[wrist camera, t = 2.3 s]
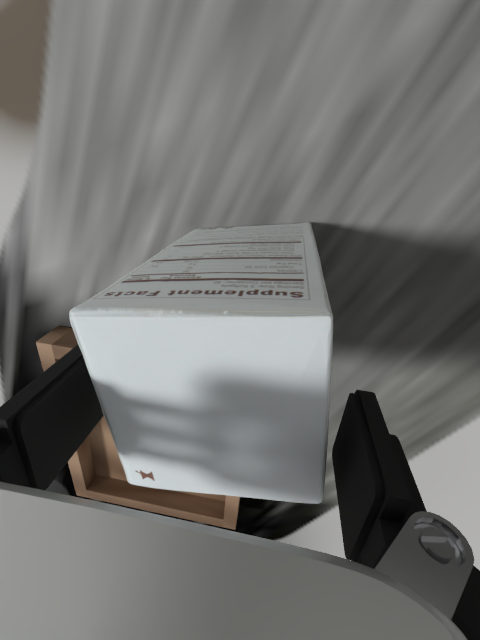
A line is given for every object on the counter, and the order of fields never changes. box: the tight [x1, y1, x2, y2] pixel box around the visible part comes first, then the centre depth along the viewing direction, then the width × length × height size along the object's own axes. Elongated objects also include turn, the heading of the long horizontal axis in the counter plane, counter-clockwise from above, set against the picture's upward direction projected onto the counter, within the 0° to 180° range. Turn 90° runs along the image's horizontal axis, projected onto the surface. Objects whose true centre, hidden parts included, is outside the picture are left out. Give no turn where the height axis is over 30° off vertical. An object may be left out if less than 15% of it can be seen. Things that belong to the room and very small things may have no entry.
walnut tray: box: [36, 326, 240, 530], centre depth 27 cm, size 18×16×2 cm
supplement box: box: [69, 222, 333, 503], centre depth 15 cm, size 7×7×13 cm
